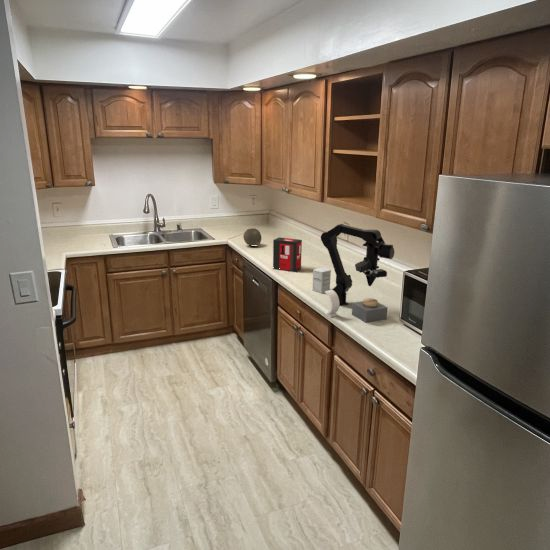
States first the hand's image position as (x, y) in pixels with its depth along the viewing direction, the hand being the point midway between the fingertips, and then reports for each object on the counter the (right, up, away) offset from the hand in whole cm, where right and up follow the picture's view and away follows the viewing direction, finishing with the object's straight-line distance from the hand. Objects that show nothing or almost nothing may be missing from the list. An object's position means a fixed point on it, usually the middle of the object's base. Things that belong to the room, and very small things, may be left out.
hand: (369, 285), depth 224 cm
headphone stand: (-20, -15, -3) cm, 25 cm away
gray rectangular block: (-1, -15, -5) cm, 16 cm away
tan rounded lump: (-1, -13, -6) cm, 14 cm away
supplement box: (-21, -4, +33) cm, 39 cm away
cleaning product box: (-39, +9, +75) cm, 85 cm away
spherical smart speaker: (-66, +28, +136) cm, 154 cm away
